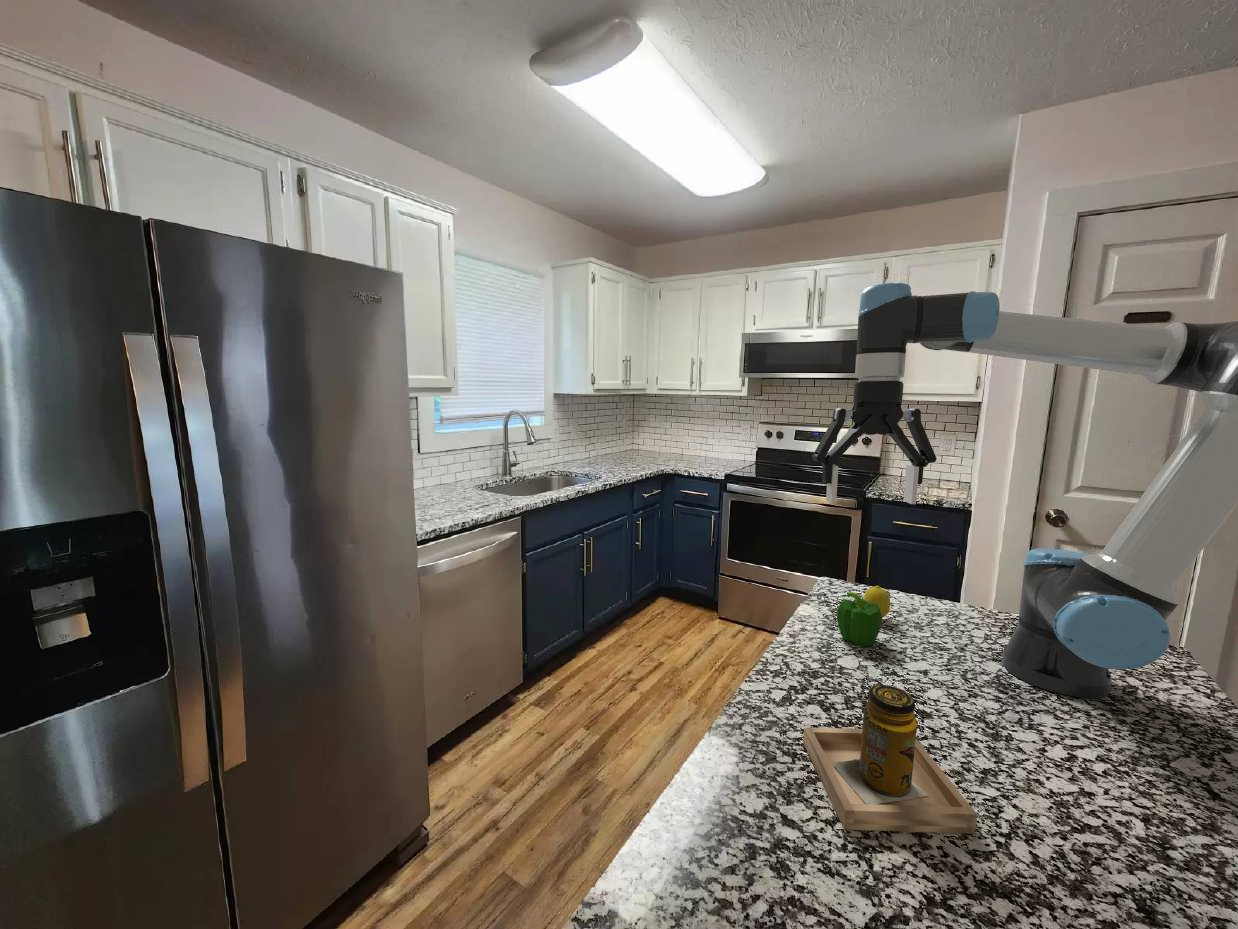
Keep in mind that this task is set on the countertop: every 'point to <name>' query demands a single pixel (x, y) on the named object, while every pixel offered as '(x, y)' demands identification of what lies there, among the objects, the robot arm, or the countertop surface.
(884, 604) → the lemon
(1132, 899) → the countertop surface
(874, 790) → the condiment
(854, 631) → the bell pepper
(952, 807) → the tray
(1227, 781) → the countertop surface
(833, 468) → the robot arm
